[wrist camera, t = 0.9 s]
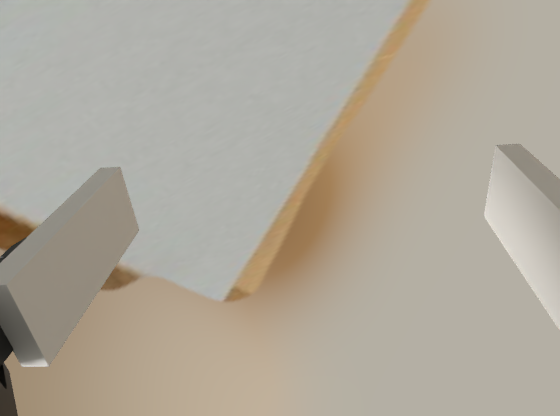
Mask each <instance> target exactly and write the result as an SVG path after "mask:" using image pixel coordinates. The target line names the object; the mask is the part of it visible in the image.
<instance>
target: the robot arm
mask: <svg viewBox="0 0 560 416" xmlns="http://www.w3.org/2000/svg"><path fill="white" fill-rule="evenodd" d="M484 217H485V219H486V220H487V222H488V223H489V225H490V226H491V228H492V229H493V231H494V232H495V234H496V235H497V237H498V238H499V240H500V241H501V243H502V244H503V246H504V247H505V249H506V250H507V252H508V253H509V255H510V256H511V258H512V259H513V261H514V262H515V264H516V265H517V267H518V268H519V270H520V271H521V273H522V275H523V276H524V278H525V279H526V280H527V282H528V283H529V285H530V286H531V288H532V289H533V291H534V293H535V294H536V296H537V297H538V299H539V300H540V302H541V303H542V305H543V306H544V308H545V309H546V311H547V312H548V314H549V315H550V317H551V318H552V320H553V321H554V323H555V324H556V325H557V327H558V329H559V330H560V179H559V178H558V177H557V176H556V175H554V174H553V173H552V172H551V171H550V170H549V169H548V168H547V167H545V166H544V165H543V164H542V163H541V162H540V161H539V160H538V159H536V158H535V157H534V156H533V155H532V154H531V153H530V152H529V151H527V150H526V149H525V148H524V147H523V146H522V145H521V144H508V145H496V146H495V152H494V158H493V164H492V170H491V177H490V183H489V188H488V195H487V200H486V207H485V213H484ZM138 231H139V228H138V224H137V221H136V218H135V215H134V211H133V208H132V205H131V201H130V198H129V195H128V191H127V188H126V185H125V181H124V178H123V175H122V172H121V168H120V167H110V168H100V169H99V170H98V171H97V172H96V173H95V174H94V175H93V176H91V177H90V178H89V179H88V180H87V181H86V182H85V183H84V184H83V185H82V186H81V187H80V188H79V189H78V190H77V191H76V192H75V193H74V194H72V195H71V196H70V197H69V198H68V199H67V200H66V201H65V202H64V203H63V204H62V205H61V206H60V207H59V208H58V209H57V210H56V211H55V212H53V213H52V214H51V215H50V216H49V217H48V218H47V219H46V220H45V221H44V222H43V223H42V224H41V225H40V226H39V227H38V228H37V229H36V230H34V231H33V232H32V233H31V234H30V235H29V236H28V237H26V238H24V239H23V240H21V241H19V242H18V243H16V244H14V245H13V246H11V247H10V248H9V249H8V250H7V251H6V252H5V253H4V254H3V255H2V256H1V257H0V416H18V415H17V409H16V404H15V399H14V394H13V389H12V384H11V378H10V373H9V371H8V369H7V367H6V366H5V364H4V361H5V360H6V359H7V358H8V356H9V355H10V354H11V352H12V351H13V352H14V353H15V355H16V357H17V359H18V360H19V362H20V364H21V366H22V367H24V366H25V367H31V366H34V367H42V366H50V364H51V362H52V361H53V359H54V358H55V356H56V355H57V353H58V352H59V350H60V349H61V347H62V346H63V344H64V343H65V341H66V340H67V338H68V337H69V335H70V334H71V332H72V331H73V329H74V328H75V326H76V325H77V323H78V322H79V320H80V319H81V317H82V316H83V314H84V313H85V311H86V310H87V308H88V307H89V305H90V304H91V302H92V300H93V299H94V297H95V296H96V294H97V293H98V292H99V290H100V289H101V287H102V286H103V284H104V283H105V281H106V280H107V278H108V277H109V275H110V274H111V272H112V271H113V269H114V268H115V266H116V265H117V263H118V262H119V260H120V259H121V257H122V255H123V254H124V252H125V251H126V249H127V248H128V246H129V245H130V243H131V242H132V240H133V239H134V237H135V236H136V234H137V233H138Z"/></svg>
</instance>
